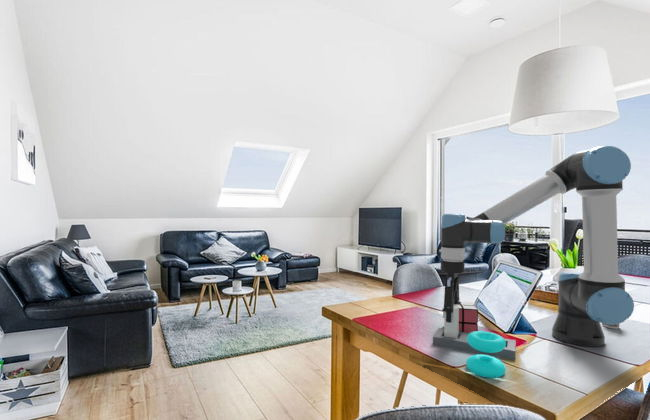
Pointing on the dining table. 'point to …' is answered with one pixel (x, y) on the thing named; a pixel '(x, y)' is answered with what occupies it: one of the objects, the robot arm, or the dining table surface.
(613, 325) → the pill bottle
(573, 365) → the dining table surface
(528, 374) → the dining table surface
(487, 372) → the donuts
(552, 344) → the dining table surface
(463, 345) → the socket panel
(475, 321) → the puzzle cube
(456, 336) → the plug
